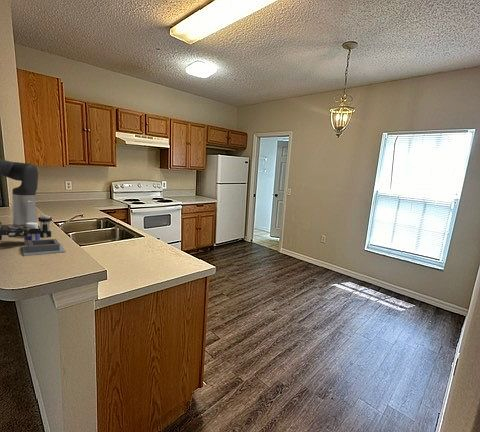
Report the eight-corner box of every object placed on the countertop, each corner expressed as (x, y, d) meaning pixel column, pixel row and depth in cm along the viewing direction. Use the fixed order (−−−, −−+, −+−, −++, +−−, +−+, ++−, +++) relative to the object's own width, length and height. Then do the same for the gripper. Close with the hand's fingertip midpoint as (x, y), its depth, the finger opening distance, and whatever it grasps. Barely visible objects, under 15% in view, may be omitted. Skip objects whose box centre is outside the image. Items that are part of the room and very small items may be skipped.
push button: (34, 238, 119) (34, 216, 117) (34, 235, 123) (34, 215, 121) (52, 237, 123) (52, 216, 122) (51, 235, 127) (51, 214, 126)
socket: (22, 246, 106) (21, 239, 105) (60, 244, 114) (60, 237, 114) (23, 255, 96) (23, 248, 96) (65, 252, 105) (65, 245, 105)
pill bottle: (38, 241, 115) (38, 221, 114) (41, 244, 112) (41, 223, 111) (22, 242, 111) (22, 222, 110) (26, 245, 108) (26, 224, 107)
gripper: (-16, 225, 95) (41, 224, 107) (-15, 218, 106) (38, 218, 117) (-16, 245, 96) (41, 241, 108) (-14, 236, 107) (38, 234, 118)
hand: (39, 229), depth 112 cm, fingers closed on pill bottle, 5 cm apart
